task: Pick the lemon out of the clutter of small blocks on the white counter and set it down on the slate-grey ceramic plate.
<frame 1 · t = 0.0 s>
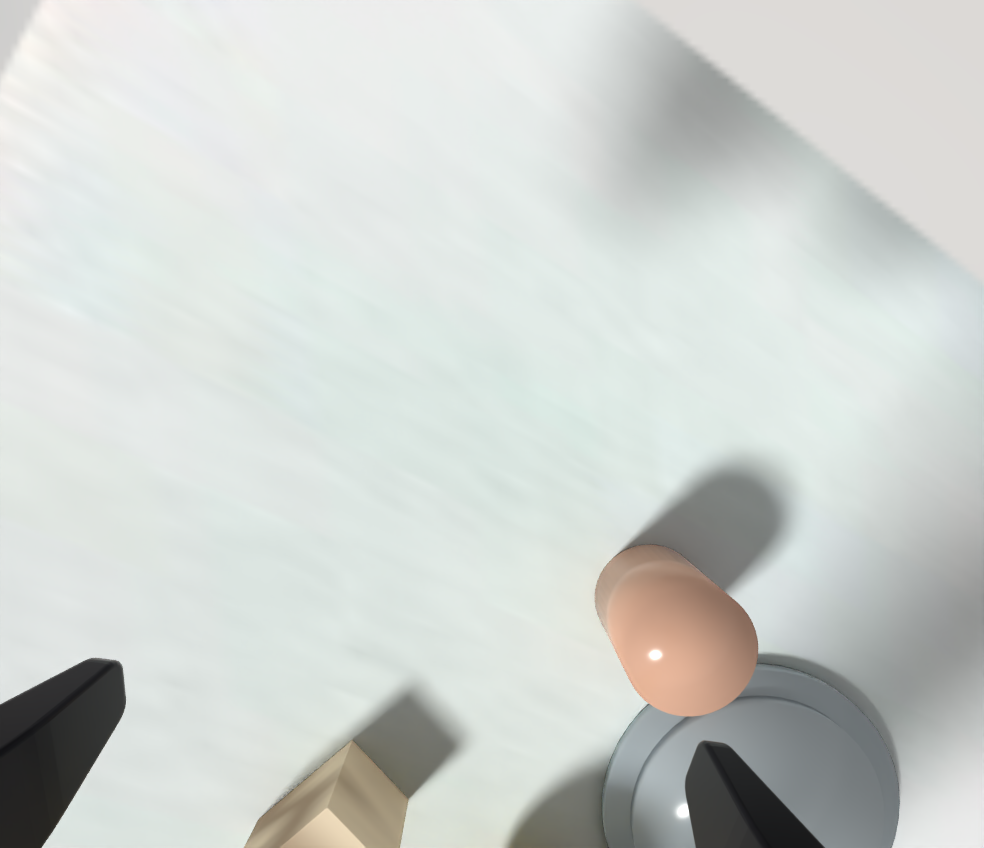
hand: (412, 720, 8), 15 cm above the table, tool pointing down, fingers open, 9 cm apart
plate: (746, 802, 25), on the table
pink cylinder: (647, 596, 24), on the table
beech block: (334, 806, 25), on the table
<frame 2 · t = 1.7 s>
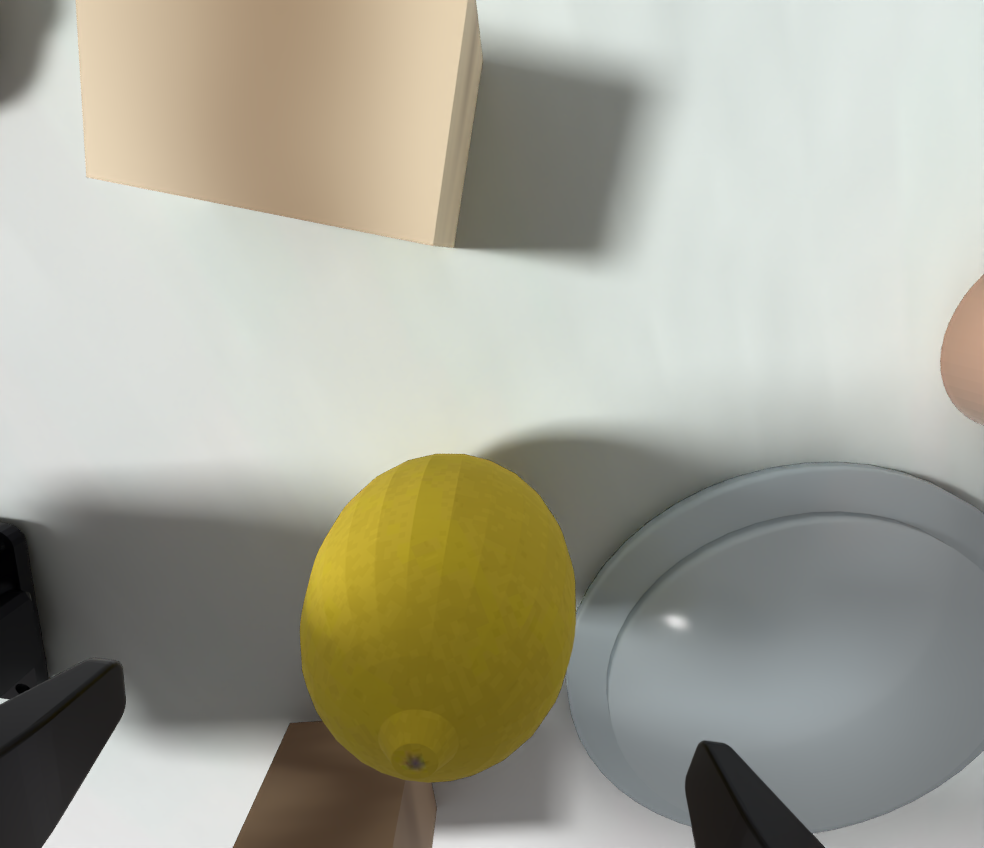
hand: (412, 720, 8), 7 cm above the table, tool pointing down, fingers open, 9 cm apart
plate: (785, 664, 16), on the table
lemon: (461, 499, 15), on the table
walnut block: (366, 764, 18), on the table
beech block: (342, 134, 12), on the table
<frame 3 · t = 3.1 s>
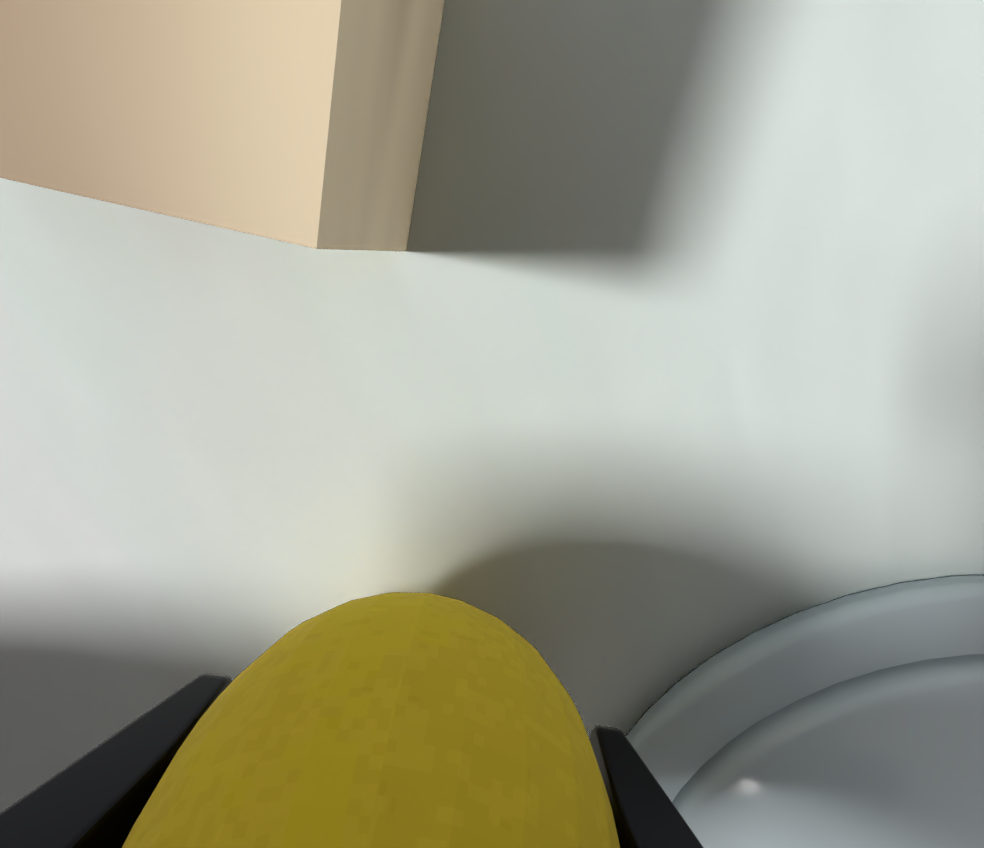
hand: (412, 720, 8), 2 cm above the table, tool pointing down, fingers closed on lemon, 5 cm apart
plate: (899, 843, 11), on the table
lemon: (431, 622, 10), on the table, touching gripper
beech block: (216, 53, 7), on the table
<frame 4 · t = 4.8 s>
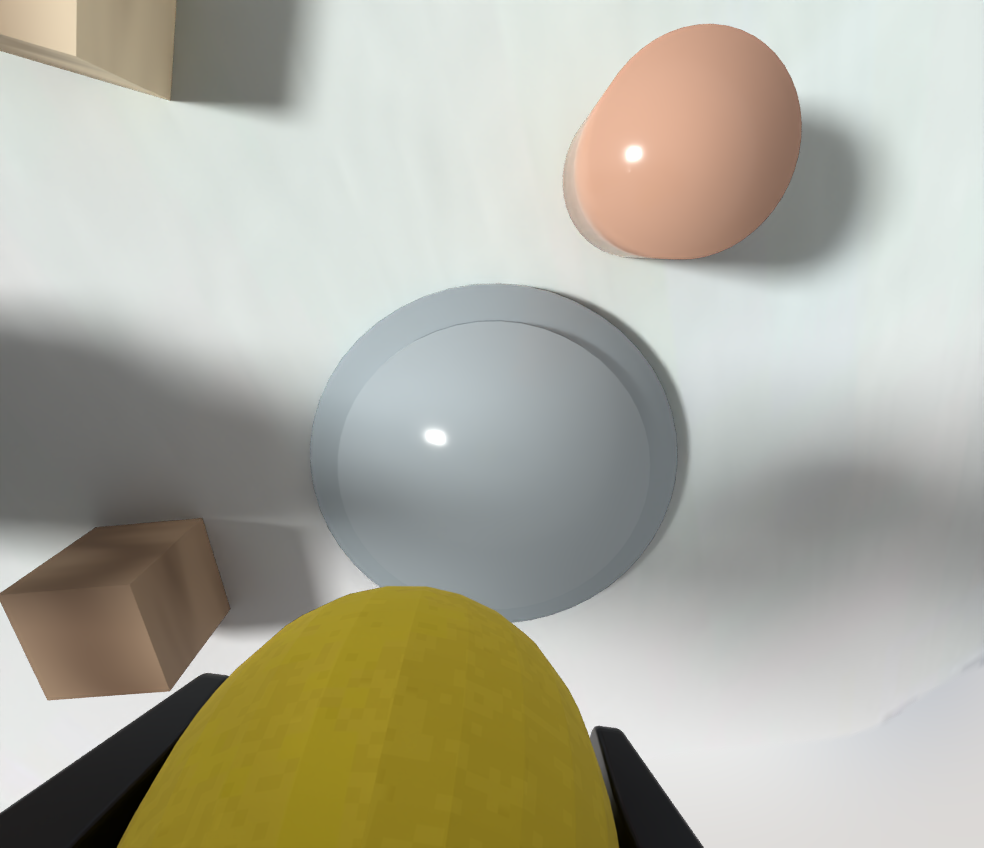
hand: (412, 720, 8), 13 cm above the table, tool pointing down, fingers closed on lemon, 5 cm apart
plate: (493, 466, 20), on the table
lemon: (430, 617, 10), point 10 cm above the table, touching gripper
pink cylinder: (638, 178, 17), on the table
walnut block: (166, 568, 22), on the table
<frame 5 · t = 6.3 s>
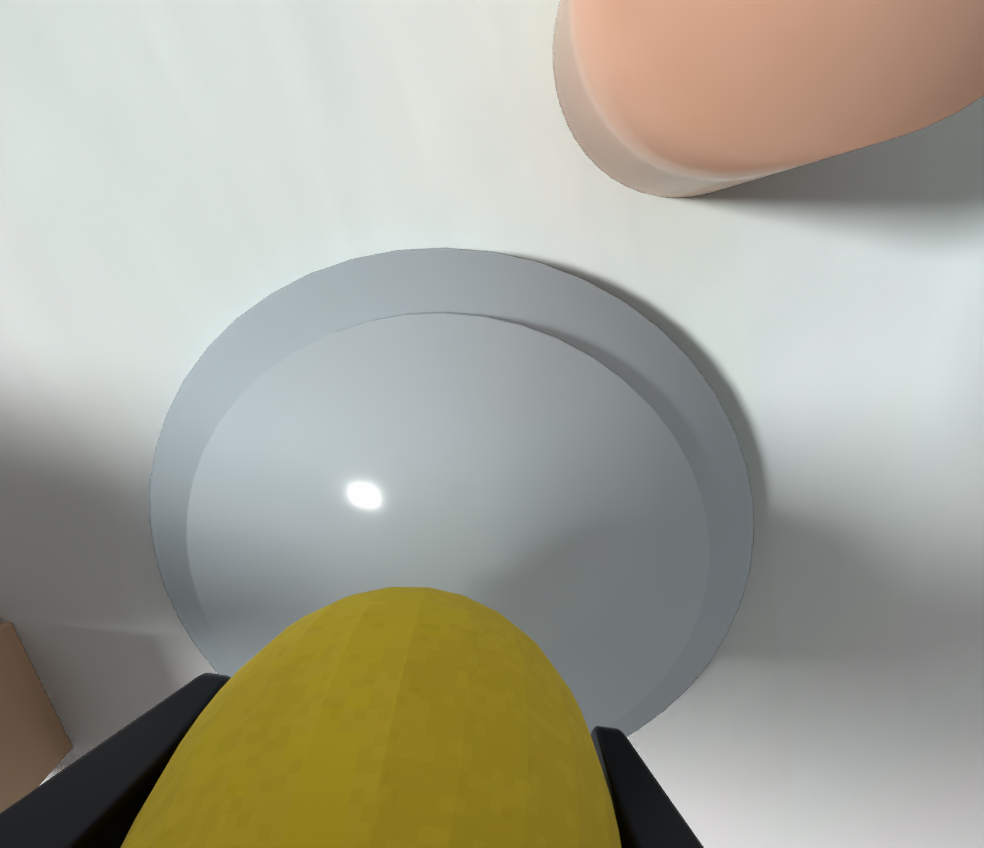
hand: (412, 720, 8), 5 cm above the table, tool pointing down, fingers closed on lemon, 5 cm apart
plate: (451, 548, 13), on the table
lemon: (431, 617, 10), point 3 cm above the table, touching gripper
pink cylinder: (691, 47, 9), on the table
when the fingers open (5 cm above the table, at t = 6.8 s): lemon drops 2 cm, resting on plate.
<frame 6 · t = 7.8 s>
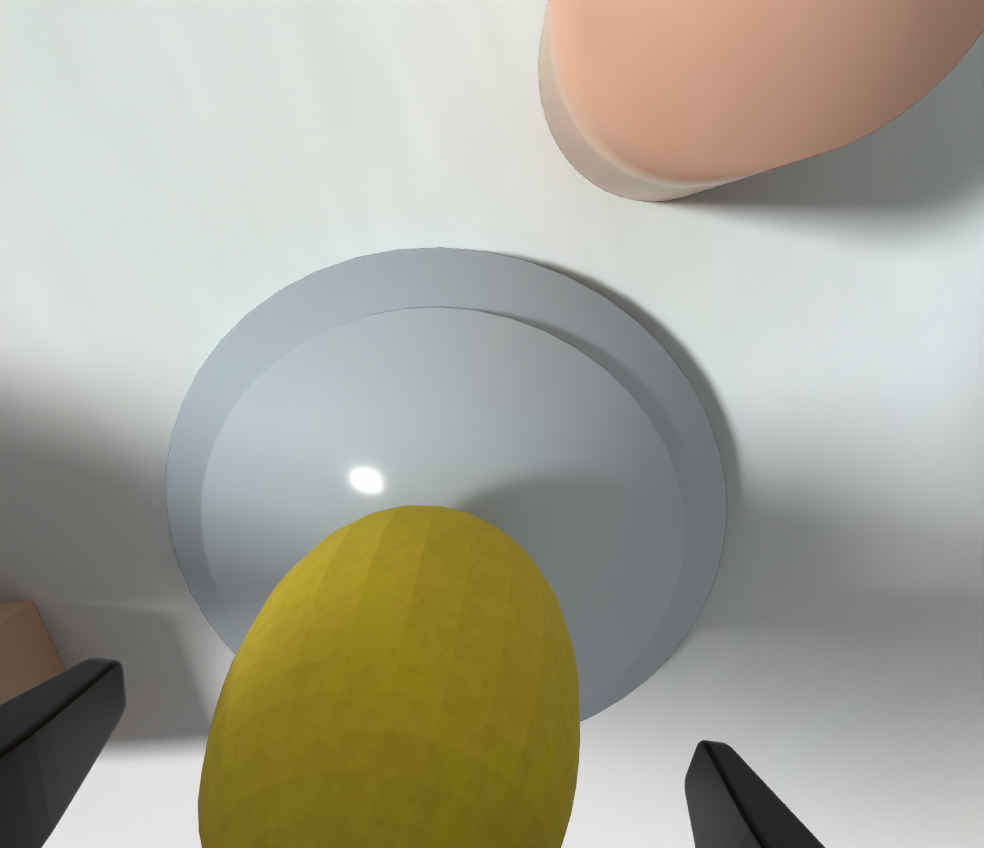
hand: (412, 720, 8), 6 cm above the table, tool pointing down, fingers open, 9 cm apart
plate: (447, 528, 13), on the table
lemon: (440, 546, 12), point 1 cm above the table, touching plate
pink cylinder: (664, 64, 10), on the table
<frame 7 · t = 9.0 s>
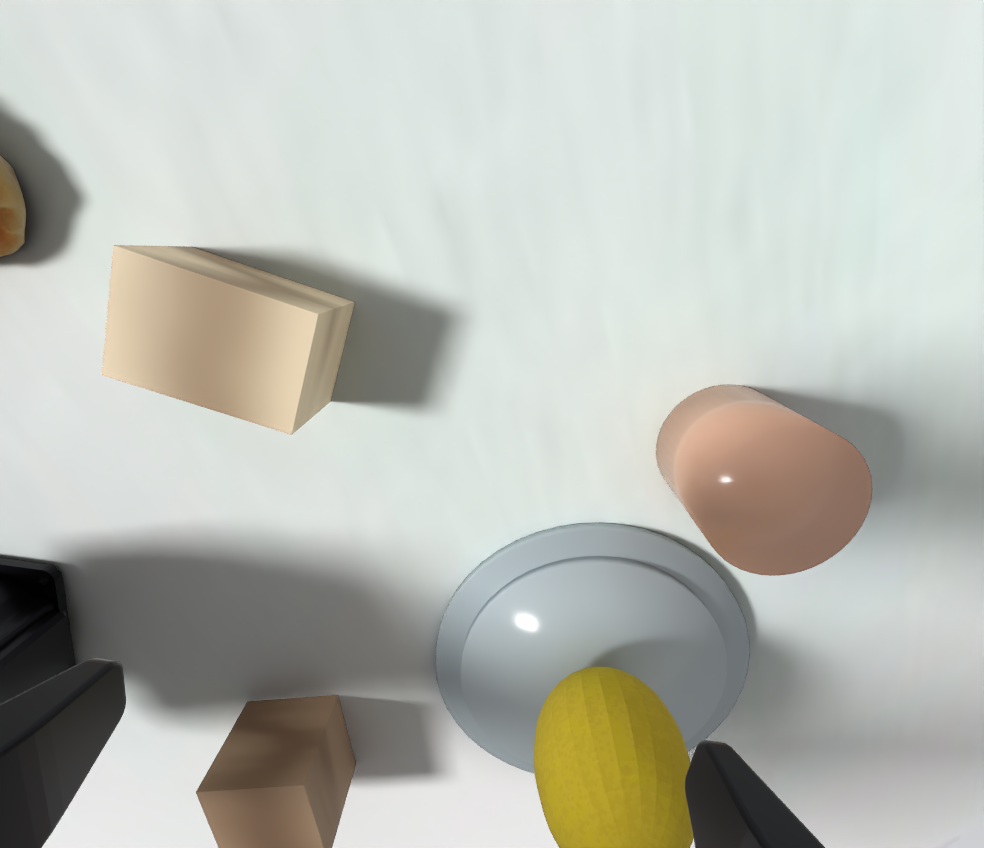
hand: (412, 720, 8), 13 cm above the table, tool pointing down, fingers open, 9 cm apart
plate: (588, 657, 24), on the table
lemon: (590, 672, 23), point 1 cm above the table, touching plate
pink cylinder: (719, 445, 20), on the table
walnut block: (303, 731, 26), on the table
beech block: (266, 327, 19), on the table
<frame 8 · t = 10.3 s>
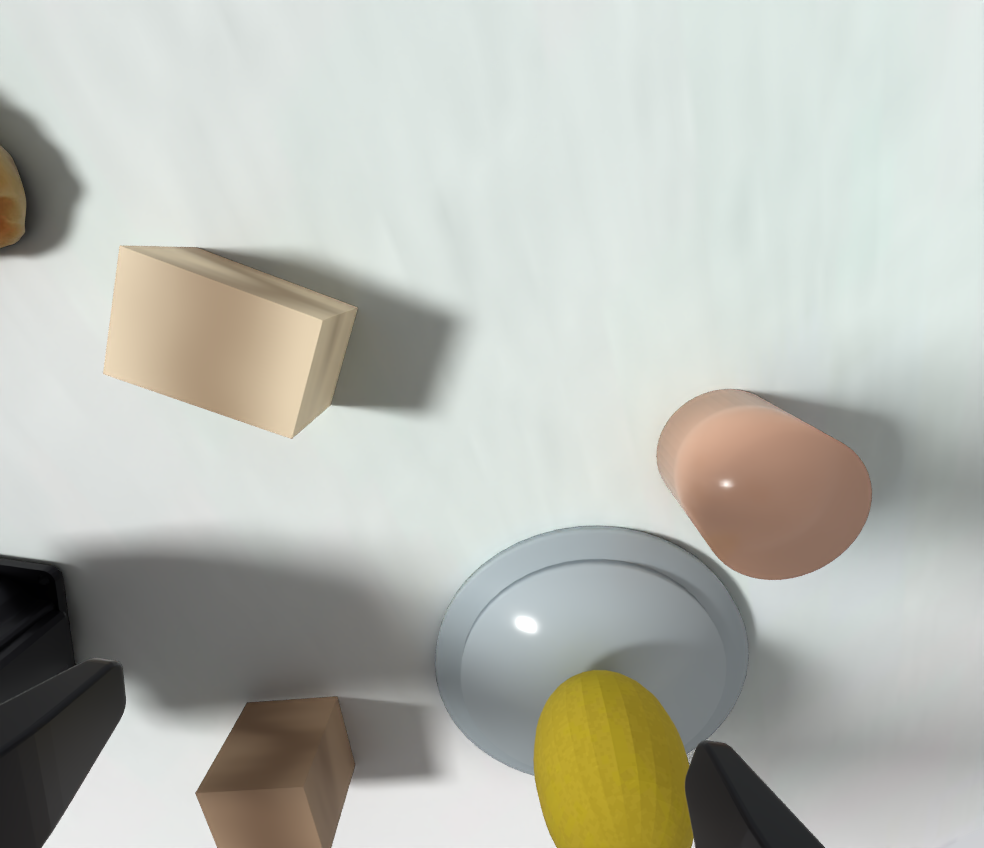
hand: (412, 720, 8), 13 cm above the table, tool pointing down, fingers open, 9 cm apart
plate: (587, 659, 24), on the table
lemon: (590, 675, 23), point 1 cm above the table, touching plate
pink cylinder: (720, 449, 20), on the table
walnut block: (303, 733, 26), on the table
beech block: (268, 329, 19), on the table
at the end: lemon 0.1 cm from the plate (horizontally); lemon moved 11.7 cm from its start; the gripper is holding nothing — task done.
